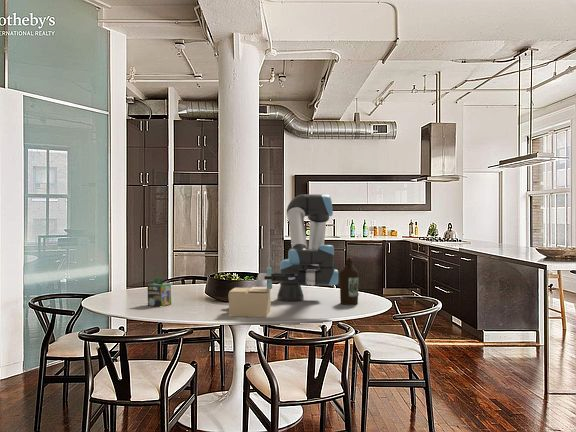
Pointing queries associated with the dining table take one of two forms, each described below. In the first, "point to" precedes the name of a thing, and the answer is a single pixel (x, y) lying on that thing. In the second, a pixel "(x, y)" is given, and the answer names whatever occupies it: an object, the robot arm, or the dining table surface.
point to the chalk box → (159, 293)
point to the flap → (263, 289)
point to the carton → (248, 303)
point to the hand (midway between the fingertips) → (258, 276)
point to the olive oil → (349, 284)
